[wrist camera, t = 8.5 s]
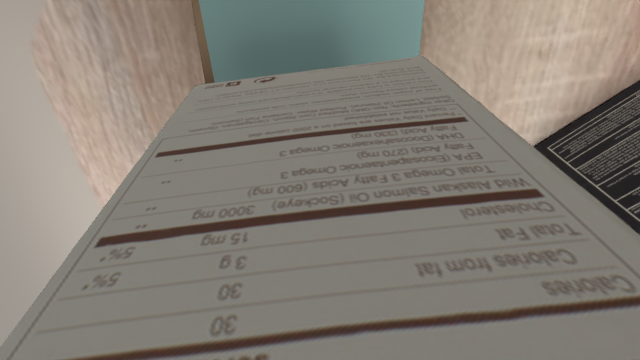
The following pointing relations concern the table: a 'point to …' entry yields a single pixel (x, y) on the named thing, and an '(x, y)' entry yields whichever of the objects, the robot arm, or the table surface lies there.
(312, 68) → the tower top
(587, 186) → the small box
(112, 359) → the supplement box
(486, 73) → the table surface
